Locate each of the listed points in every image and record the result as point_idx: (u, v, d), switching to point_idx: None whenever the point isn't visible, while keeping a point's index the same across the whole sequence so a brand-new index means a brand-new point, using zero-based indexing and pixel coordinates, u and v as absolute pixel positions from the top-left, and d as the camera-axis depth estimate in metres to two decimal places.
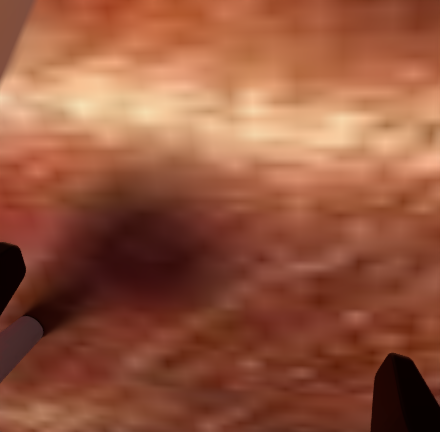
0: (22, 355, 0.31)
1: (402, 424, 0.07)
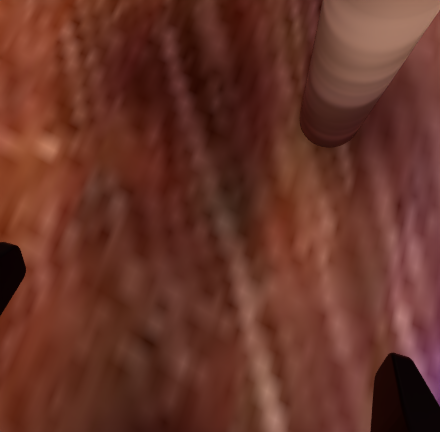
0: None
1: (402, 424, 0.07)
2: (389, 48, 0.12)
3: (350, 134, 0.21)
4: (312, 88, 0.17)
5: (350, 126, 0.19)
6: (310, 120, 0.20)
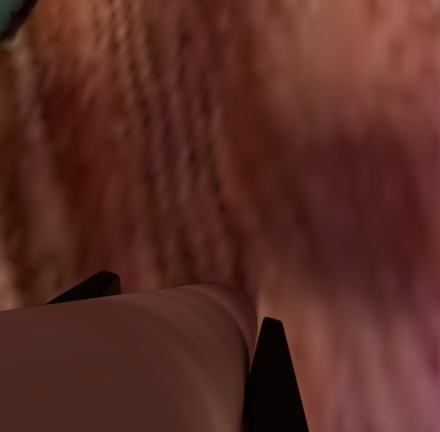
0: None
1: (251, 377, 0.07)
2: None
3: None
4: None
5: None
6: None
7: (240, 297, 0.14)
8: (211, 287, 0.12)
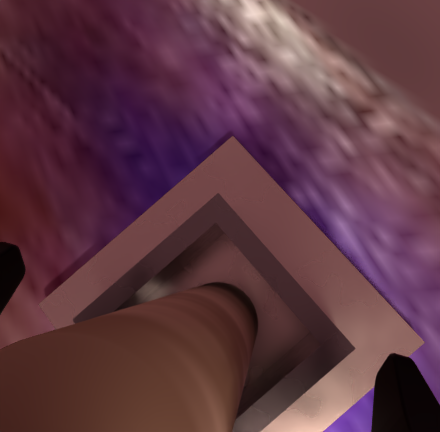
0: None
1: (403, 424, 0.07)
2: None
3: None
4: None
5: None
6: None
7: (241, 297, 0.15)
8: (214, 290, 0.13)
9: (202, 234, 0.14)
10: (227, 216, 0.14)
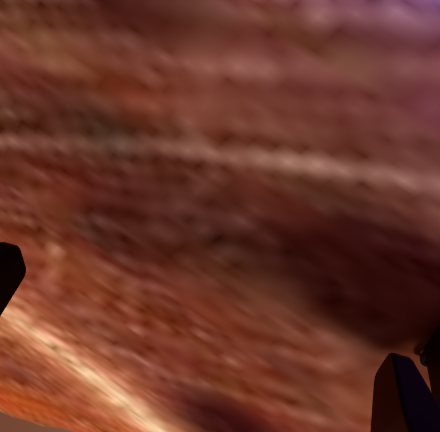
0: None
1: (402, 424, 0.07)
2: None
3: None
4: None
5: None
6: None
7: None
8: None
9: None
10: None
